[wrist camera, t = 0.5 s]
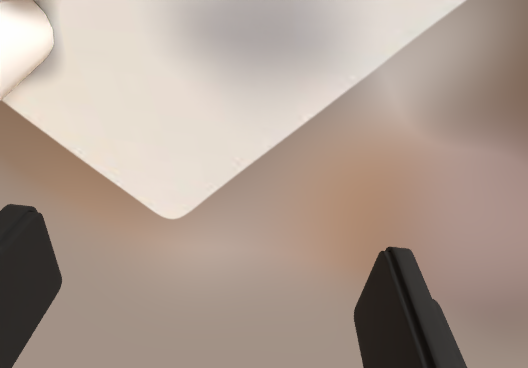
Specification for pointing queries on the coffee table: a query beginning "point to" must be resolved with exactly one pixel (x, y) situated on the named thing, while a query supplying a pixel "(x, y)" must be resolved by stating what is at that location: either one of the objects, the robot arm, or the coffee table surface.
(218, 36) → the coffee table surface
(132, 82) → the coffee table surface
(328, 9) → the coffee table surface
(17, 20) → the foam cup
